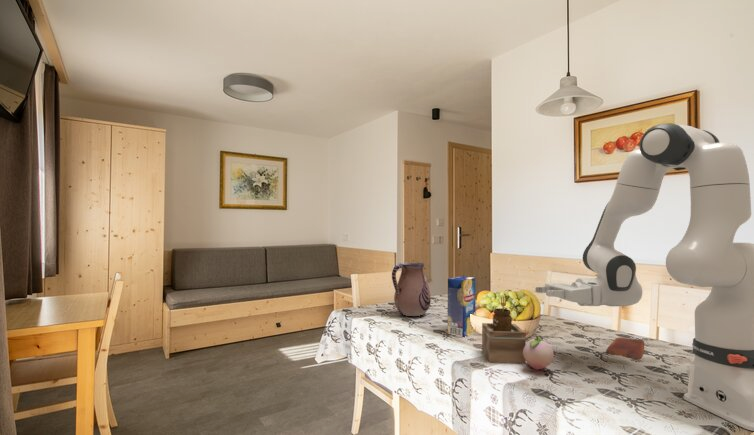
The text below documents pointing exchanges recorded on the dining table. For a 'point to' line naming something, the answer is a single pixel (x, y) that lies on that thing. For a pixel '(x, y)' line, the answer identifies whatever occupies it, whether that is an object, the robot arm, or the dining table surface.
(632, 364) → the dining table surface
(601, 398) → the dining table surface
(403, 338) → the dining table surface
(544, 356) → the decorative fruit
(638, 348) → the wooden tablet
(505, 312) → the utensil holder
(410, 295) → the ceramic pitcher
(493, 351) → the walnut box
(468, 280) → the beverage box
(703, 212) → the robot arm
